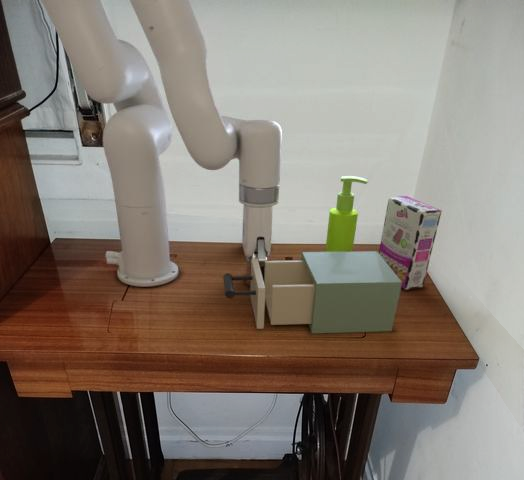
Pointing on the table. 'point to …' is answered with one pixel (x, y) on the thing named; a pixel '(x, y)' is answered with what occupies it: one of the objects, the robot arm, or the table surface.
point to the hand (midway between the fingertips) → (256, 279)
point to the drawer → (278, 292)
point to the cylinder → (249, 268)
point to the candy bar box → (409, 239)
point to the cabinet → (352, 292)
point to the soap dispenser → (343, 218)
